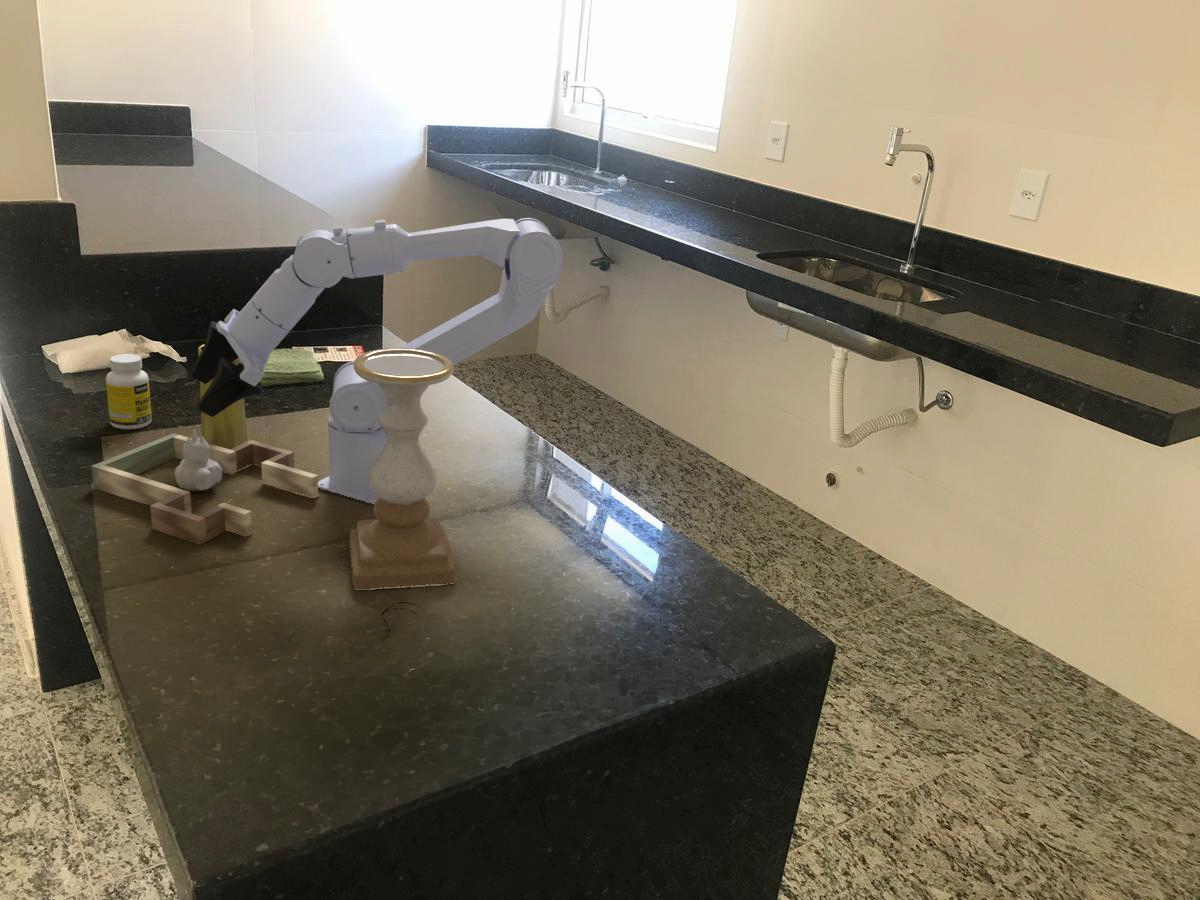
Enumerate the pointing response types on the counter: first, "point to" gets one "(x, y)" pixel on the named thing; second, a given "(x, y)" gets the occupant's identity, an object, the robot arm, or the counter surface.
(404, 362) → the candle holder
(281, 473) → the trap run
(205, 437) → the vase
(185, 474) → the white animal figurine
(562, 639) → the counter surface
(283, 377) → the washcloth
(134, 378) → the supplement bottle
